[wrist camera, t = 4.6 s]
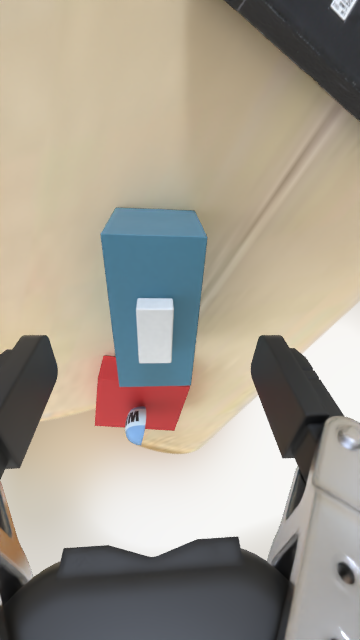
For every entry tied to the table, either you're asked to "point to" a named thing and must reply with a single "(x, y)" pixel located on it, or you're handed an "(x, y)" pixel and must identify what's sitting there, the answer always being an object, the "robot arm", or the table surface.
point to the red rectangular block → (136, 404)
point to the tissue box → (154, 293)
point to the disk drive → (314, 40)
